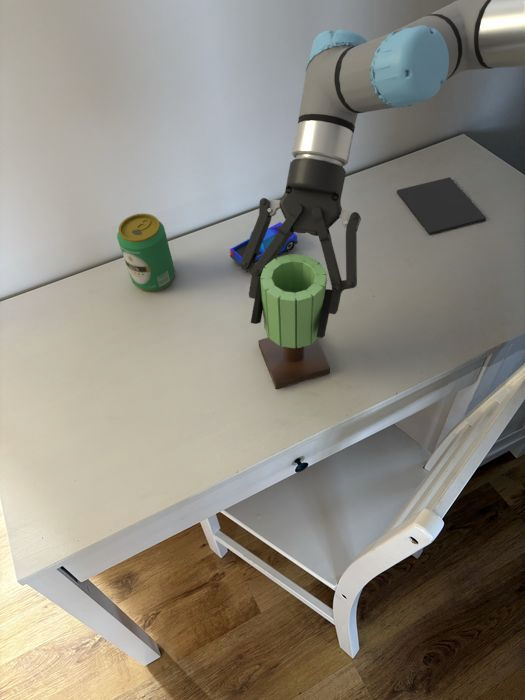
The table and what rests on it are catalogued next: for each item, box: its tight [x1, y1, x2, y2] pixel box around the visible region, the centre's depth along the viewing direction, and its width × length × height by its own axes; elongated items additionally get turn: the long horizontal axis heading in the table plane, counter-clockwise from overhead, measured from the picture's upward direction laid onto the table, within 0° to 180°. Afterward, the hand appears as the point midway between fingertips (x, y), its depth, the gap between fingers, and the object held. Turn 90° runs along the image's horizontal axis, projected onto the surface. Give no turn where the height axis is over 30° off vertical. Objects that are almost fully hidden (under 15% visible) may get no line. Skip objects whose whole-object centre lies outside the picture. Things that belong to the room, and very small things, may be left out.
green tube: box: [260, 253, 328, 348], centre depth 75 cm, size 9×9×10 cm
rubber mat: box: [396, 176, 487, 235], centre depth 106 cm, size 14×12×1 cm
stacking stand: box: [257, 336, 332, 390], centre depth 81 cm, size 9×9×11 cm
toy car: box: [229, 221, 299, 273], centre depth 99 cm, size 7×12×5 cm, turn 127°
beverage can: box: [116, 213, 176, 293], centre depth 94 cm, size 8×8×12 cm
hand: (287, 329), depth 75 cm, fingers closed on green tube, 9 cm apart
